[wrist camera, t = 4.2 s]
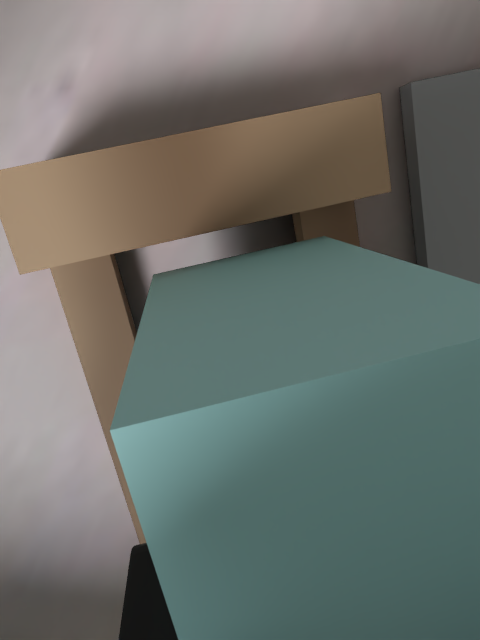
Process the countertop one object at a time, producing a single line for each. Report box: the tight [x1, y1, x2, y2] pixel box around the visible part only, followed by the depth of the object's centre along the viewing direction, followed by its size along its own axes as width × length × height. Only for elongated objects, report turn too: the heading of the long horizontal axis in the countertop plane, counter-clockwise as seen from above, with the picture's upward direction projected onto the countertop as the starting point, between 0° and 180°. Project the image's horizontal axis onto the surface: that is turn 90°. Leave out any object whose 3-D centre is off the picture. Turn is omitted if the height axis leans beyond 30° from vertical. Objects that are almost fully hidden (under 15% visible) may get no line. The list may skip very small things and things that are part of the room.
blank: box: [110, 236, 480, 640], centre depth 9 cm, size 4×10×7 cm, turn 12°
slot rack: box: [0, 93, 391, 544], centre depth 13 cm, size 8×15×3 cm, turn 12°
